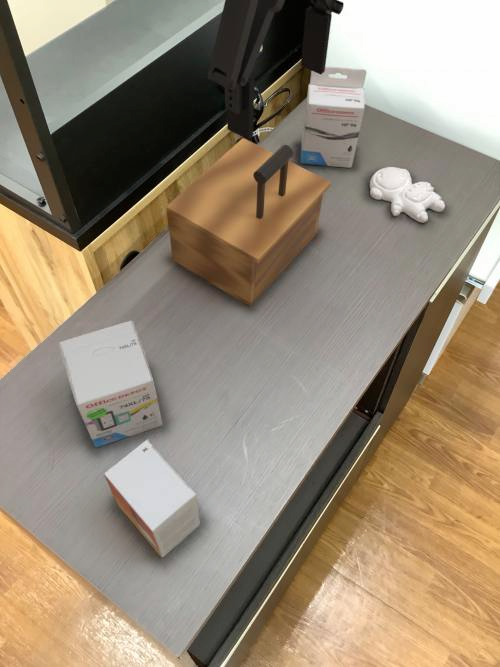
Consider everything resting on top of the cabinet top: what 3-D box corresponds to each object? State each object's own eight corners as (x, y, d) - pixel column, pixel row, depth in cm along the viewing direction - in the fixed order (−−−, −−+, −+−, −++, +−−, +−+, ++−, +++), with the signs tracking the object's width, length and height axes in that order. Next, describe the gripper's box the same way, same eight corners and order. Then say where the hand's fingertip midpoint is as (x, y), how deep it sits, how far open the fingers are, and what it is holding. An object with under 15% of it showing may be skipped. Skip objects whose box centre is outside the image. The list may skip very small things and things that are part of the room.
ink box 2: (299, 165, 101) (309, 85, 88) (300, 144, 103) (309, 64, 91) (352, 168, 101) (369, 89, 88) (352, 148, 103) (368, 68, 91)
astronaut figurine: (410, 232, 93) (415, 218, 91) (357, 185, 98) (361, 171, 96) (451, 208, 96) (457, 193, 94) (398, 164, 101) (402, 149, 99)
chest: (316, 233, 93) (324, 183, 85) (250, 307, 85) (252, 260, 77) (242, 193, 97) (242, 142, 89) (172, 260, 89) (166, 211, 81)
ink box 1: (94, 449, 74) (73, 405, 64) (78, 390, 78) (56, 340, 68) (164, 426, 75) (154, 379, 66) (144, 368, 80) (132, 317, 70)
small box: (117, 505, 70) (100, 472, 61) (157, 473, 72) (146, 436, 63) (162, 560, 67) (151, 533, 58) (202, 525, 69) (197, 493, 60)
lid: (330, 186, 84) (339, 134, 77) (258, 263, 77) (260, 214, 69) (242, 142, 89) (243, 89, 81) (166, 210, 81) (159, 159, 74)
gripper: (234, -55, 43) (236, 179, 60) (409, -170, 54) (367, 56, 71) (151, -87, 45) (176, 147, 63) (335, -191, 56) (312, 33, 74)
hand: (278, 99), depth 67 cm, fingers open, 13 cm apart
